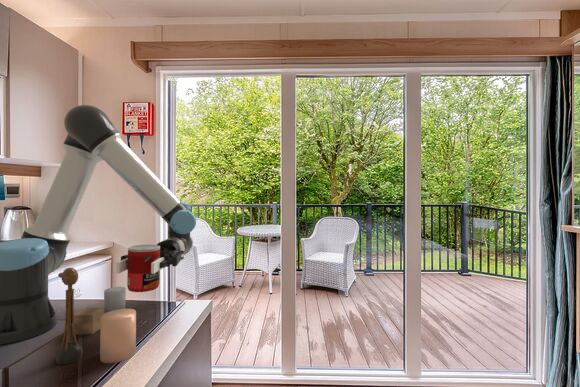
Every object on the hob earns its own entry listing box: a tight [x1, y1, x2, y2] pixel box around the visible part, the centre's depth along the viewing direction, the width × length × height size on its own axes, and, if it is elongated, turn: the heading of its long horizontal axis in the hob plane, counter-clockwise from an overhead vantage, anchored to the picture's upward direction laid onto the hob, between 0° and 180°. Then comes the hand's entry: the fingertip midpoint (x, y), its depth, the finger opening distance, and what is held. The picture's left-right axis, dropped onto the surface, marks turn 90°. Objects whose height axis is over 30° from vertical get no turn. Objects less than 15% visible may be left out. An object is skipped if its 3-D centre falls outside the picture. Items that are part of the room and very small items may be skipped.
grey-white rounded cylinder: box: [103, 286, 127, 314], centre depth 90 cm, size 6×6×7 cm
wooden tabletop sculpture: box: [55, 267, 84, 365], centre depth 65 cm, size 6×5×20 cm
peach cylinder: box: [99, 308, 137, 364], centre depth 67 cm, size 7×7×9 cm
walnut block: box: [74, 306, 104, 335], centre depth 78 cm, size 5×5×5 cm
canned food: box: [126, 244, 161, 293], centre depth 79 cm, size 8×8×11 cm
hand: (135, 268), depth 74 cm, fingers closed on canned food, 8 cm apart
